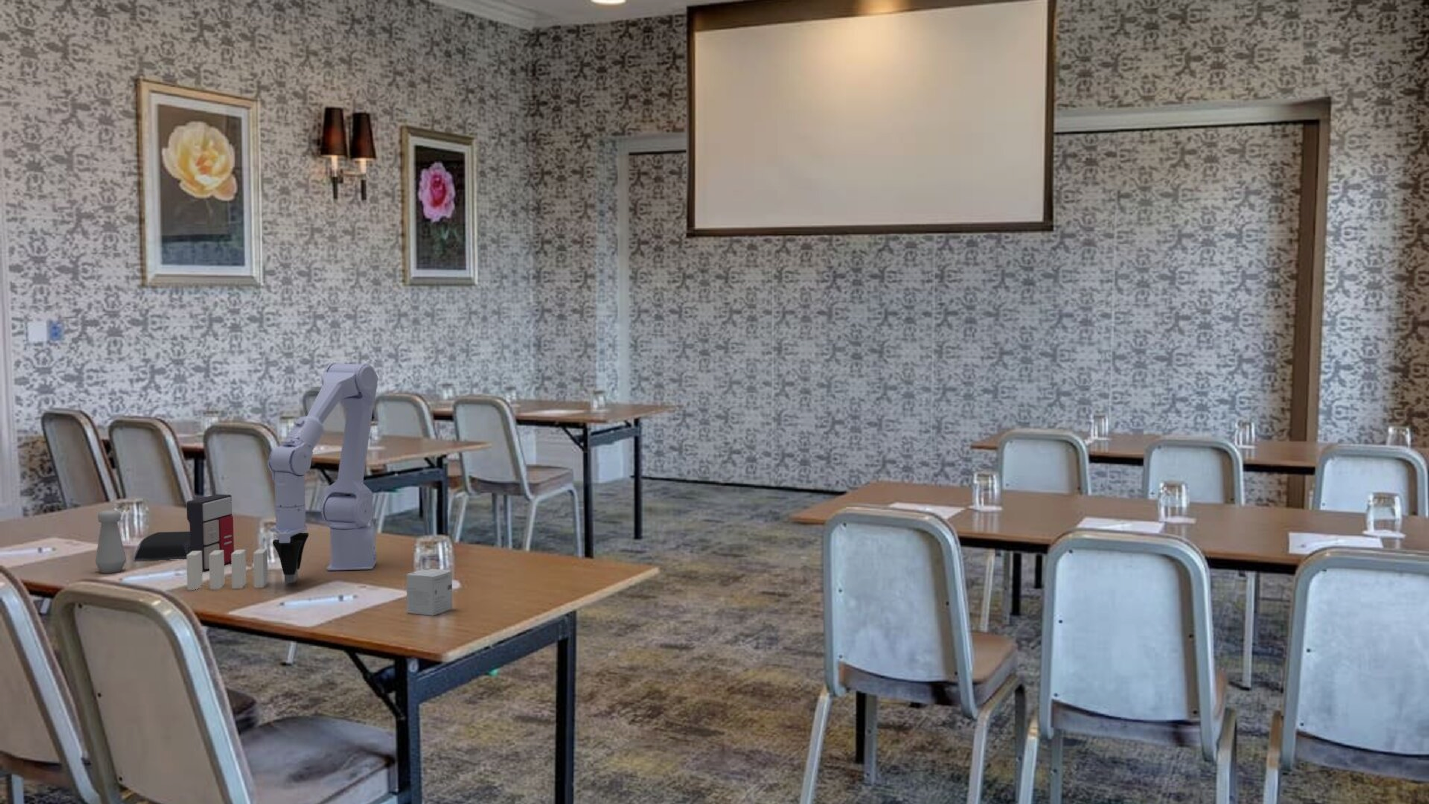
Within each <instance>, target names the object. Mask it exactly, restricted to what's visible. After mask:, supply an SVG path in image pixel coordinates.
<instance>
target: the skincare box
mask: <svg viewBox="0 0 1429 804" xmlns="http://www.w3.org/2000/svg"><path fill="white" fill-rule="evenodd" d="M452 573H453V571H452V570H450V569H449V570H448V569H438V568H426V567H425V568H423V569H420V570H415V571H413V572H410V573H407V574H406V613H407V614H412V615H413V614H416V615H424V616H436V615H439V614H441V613H444V612H447V611H451V610H452V609H453V576H452V575H453V574H452Z"/></svg>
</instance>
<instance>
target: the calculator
mask: <svg viewBox="0 0 1429 804" xmlns="http://www.w3.org/2000/svg"><path fill="white" fill-rule="evenodd" d="M232 499H233V498H232V495H231V494H221V493H220V494H219V493H216V494H212V495H209V496H204V497H200V498H196V499H191V500H188V501H186V519H187V521H188V524H189V531H190V551H191V552H192V551H202V571H204V572H207V571H209V570H208V569H209V554H210V553H212V552H213V551H214V550H224V566H225V565H227V564H230V563H231V554H232V553H233V552H234V551H235V546H234V545H235V544H234V543H235V539H234V537H235V535H234V516H233V500H232ZM206 570H207V571H206Z"/></svg>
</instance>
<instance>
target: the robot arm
mask: <svg viewBox="0 0 1429 804" xmlns="http://www.w3.org/2000/svg"><path fill="white" fill-rule="evenodd" d="M378 381H379V377H378V374H377V372H376V370H375V368H374V367H373V366H372V365H371V364H369V363H362V364H361V363H336V362H331V363H329V364H328V365H327V366H326V367H325V370H324V372H323V373H322V374H321V385H322V386H321V388H320V390H319V392H318V394H317V395H316V398H315V399H314V402H313V404H312V405H311V407H310V410H309V412H308V413H307V415H306V416H301V417H299V418H297V419H296V421H295V423H294V425H293V426H292V428H291V430H290V431H289V433H288V434H287V436H286V438H285V439H284V441H283V442H282V443H281V445H279V446H277V447H274V449H273V450H271V452H270V454H269V457H268V460H267V467H268V470H269V472H270V473H271V480H272V482H273V483H274V498H275V499H274V506H275V509H274V510H275V526H270V527H269V532H275V533H276V534H277V535H278V539H273V540H272V545H273V547H274V548H275V551H276V552H277V555H278V558H279V561H280V565H281V569H282V573H283V575H284V576H285V575H294V574H295V572H296V568H297V562H298V570H300V567H301V565H302V564H301V563H302V557H303V553H304V549H305V546H306V545H305V544H306V542H307V539H308V538H309V533H308V532H306V531H307V530H308V527H307V523H306V522H307V521H306V520H307V519H306V487H305V485H306V479H305V478H306V477H305V475H306V473H307V472H308V471H309V470H310V469H311V466H312V465H311V464H312V457H313V456H314V455H313V454H314V452H313V450H314V449H315V448H316V446H317V444H318V442H319V441H320V439H321V438H322V436H323V434H324V432H325V431H324V426H323V424H324V423H325V421H326V420H327V418H328V417H329V416H330V414H331V413H332V411H333V410H334V408H335V407H336V406H337V405H338V403H339V402H340V403H342V404H344V406H345V408H346V417H345V423H344V431H343V438H342V443H341V444H342V445H341V446H342V447H341V452H340V458H339V465H338V473H337V479H336V481H334V482H333V483H332V484H331V485H329V486H328V487H327V488H326V493H325V496H324V499H323V500H322V503H321V507H320V513H321V517H322V520H323V521H325V522H326V527H329V530H330V531H329V533H330V534H329V536H330V543H329V544H330V563H329V565H328V566H327V567H326V571H348V570H349V571H350V570H351V571H353V570H358V571H359V570H372V569H374V567H375V565H376V563H377V549H376V548H377V547H376V543H377V542H376V541H377V539H376V527H375V526H373V525H369V523H370V522H371V519H372V517H373V514H374V506H373V494H374V493H373V491H371V489H370V488H369V487H368V486H367V485H365V484H364V476H365V471H366V464H367V463H366V462H367V454H368V449H369V440H370V433H371V427H372V417H373V413H374V403H375V402H376V397H377V388H378V383H379V382H378Z"/></svg>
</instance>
